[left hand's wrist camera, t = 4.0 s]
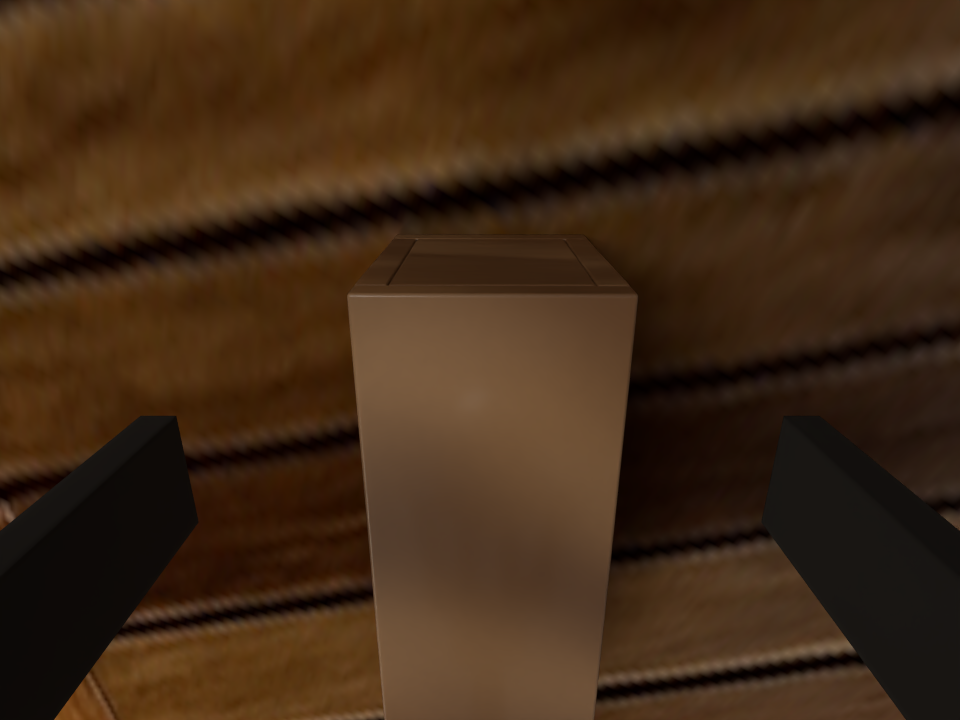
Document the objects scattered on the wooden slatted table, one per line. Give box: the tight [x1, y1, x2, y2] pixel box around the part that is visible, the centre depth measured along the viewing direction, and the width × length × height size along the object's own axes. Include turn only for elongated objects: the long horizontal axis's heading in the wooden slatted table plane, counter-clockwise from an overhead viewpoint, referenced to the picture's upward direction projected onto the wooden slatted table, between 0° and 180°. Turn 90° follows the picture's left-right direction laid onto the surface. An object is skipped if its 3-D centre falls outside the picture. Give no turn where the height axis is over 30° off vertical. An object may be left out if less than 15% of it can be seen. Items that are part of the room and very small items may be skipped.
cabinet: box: [347, 234, 638, 720], centre depth 20 cm, size 16×7×8 cm, turn 0°
